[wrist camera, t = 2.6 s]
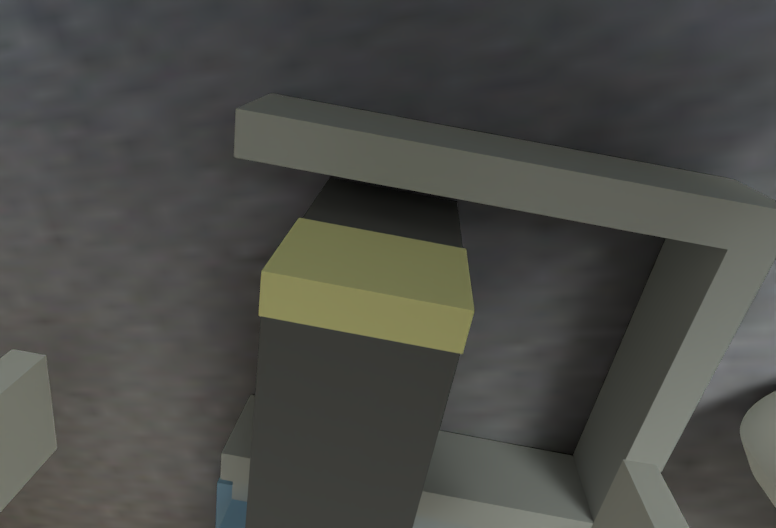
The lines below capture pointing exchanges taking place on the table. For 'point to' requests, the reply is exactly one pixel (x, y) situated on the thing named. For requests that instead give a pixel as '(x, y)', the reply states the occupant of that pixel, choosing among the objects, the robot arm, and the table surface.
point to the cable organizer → (761, 443)
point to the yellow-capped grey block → (356, 358)
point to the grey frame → (566, 201)
